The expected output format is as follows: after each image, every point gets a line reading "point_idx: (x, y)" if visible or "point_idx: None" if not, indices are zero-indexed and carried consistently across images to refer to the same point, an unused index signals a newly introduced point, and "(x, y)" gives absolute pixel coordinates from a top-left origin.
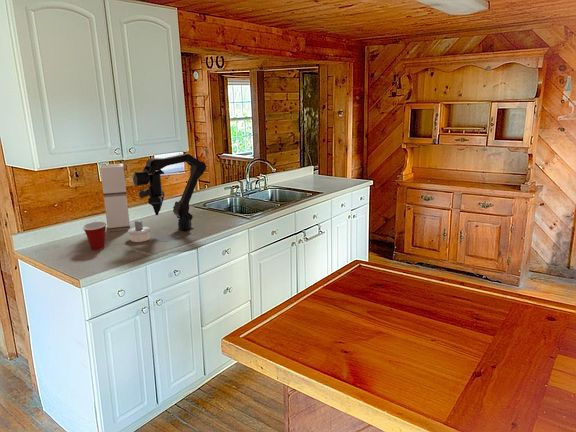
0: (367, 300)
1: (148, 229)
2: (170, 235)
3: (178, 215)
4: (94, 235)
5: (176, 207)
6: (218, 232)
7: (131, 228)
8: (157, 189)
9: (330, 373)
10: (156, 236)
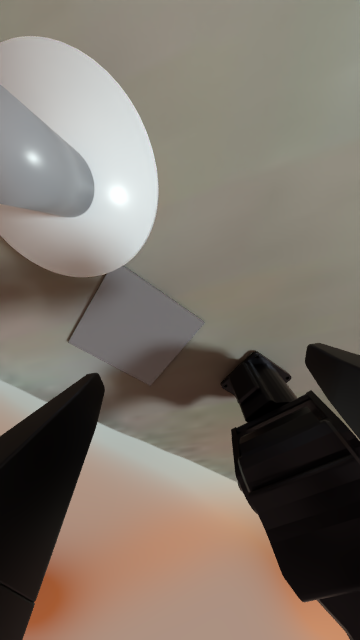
0: None
1: (84, 264)
2: (164, 345)
3: (243, 443)
4: None
5: (308, 499)
6: (200, 464)
7: (90, 61)
8: None
9: None
10: (148, 285)
